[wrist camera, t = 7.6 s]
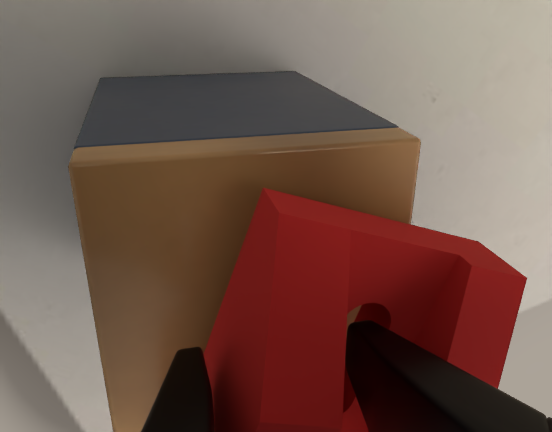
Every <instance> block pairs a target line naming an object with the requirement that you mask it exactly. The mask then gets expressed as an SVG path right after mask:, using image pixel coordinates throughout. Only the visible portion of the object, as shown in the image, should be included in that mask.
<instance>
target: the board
mask: <svg viewBox="0 0 552 432" xmlns="http://www.w3.org/2000/svg"><path fill="white" fill-rule="evenodd" d="M420 145H421V142H420V139H419V138H417V137H415V136H413V135H412V134H410V133H408V132H406V131H404V130H402V129H400V128H383V129H367V130H351V131H335V132H319V133H303V134H287V135H271V136H255V137H239V138H223V139H207V140H191V141H175V142H160V143H144V144H128V145H112V146H96V147H80V148H76V149H74V152H73V154H72V157H71V160H70V162H69V166H68V168H69V174H70V180H71V186H72V192H73V198H74V204H75V209H76V215H77V221H78V227H79V233H80V239H81V245H82V251H83V256H84V262H85V268H86V274H87V280H88V286H89V292H90V297H91V303H92V309H93V315H94V321H95V327H96V333H97V339H98V344H99V350H100V356H101V362H102V368H103V374H104V380H105V385H106V391H107V397H108V403H109V409H110V415H111V421H112V427H113V432H141V430H142V428H143V426H144V424H145V421H146V419H147V417H148V415H149V412H150V410H151V408H152V406H153V403H154V401H155V399H156V397H157V394H158V392H159V390H160V388H161V385H162V383H163V381H164V379H165V376H166V374H167V372H168V370H169V367H170V365H171V363H172V361H173V358H174V356H175V354H176V352H177V351H178V350H180V349H185V348H192V347H201V349H202V351H203V354H204V351H205V349H206V346H207V343H208V340H209V337H210V335H211V332H212V329H213V326H214V323H215V320H216V318H217V315H218V312H219V309H220V306H221V304H222V301H223V298H224V295H225V292H226V290H227V287H228V284H229V281H230V278H231V276H232V273H233V270H234V267H235V264H236V262H237V259H238V256H239V253H240V250H241V248H242V245H243V242H244V239H245V236H246V234H247V231H248V228H249V225H250V222H251V220H252V217H253V214H254V211H255V208H256V206H257V203H258V200H259V197H260V194H261V192H262V189H263V188H267V189H271V190H275V191H279V192H283V193H287V194H291V195H295V196H299V197H303V198H307V199H311V200H315V201H319V202H323V203H327V204H330V205H334V206H338V207H342V208H346V209H350V210H354V211H358V212H362V213H366V214H370V215H374V216H378V217H382V218H386V219H390V220H394V221H398V222H402V223H406V224H410V225H411V218H412V210H413V202H414V194H415V186H416V177H417V169H418V161H419V153H420ZM361 306H362V305H360V306H358V307H356V308H354V309H353V310H352V311H350V312H349V313H348V314H347V329H348V326H349V325H350V324H351V323H352V322H354V321H355V319H356V316H357V314H358V312H359V310H360V308H361ZM346 338H347V330H346Z"/></svg>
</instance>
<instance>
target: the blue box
mask: <svg viewBox="0 0 552 432" xmlns="http://www.w3.org/2000/svg"><path fill="white" fill-rule="evenodd" d="M383 128H399V127H398V126H397V125H395V124H393V123H391V122H389V121H387V120H385V119H384V118H382V117H380V116H378V115H376V114H374V113H372V112H370V111H369V110H367V109H365V108H363V107H361V106H359V105H357V104H356V103H354V102H352V101H350V100H348V99H346V98H344V97H342V96H341V95H339V94H337V93H335V92H333V91H331V90H329V89H328V88H326V87H324V86H322V85H320V84H318V83H316V82H314V81H313V80H311V79H309V78H307V77H305V76H303V75H301V74H300V73H298V72H296V71H286V72H257V73H228V74H199V75H170V76H140V77H111V78H100V80H99V83H98V85H97V88H96V91H95V93H94V96H93V99H92V101H91V104H90V107H89V109H88V112H87V114H86V117H85V120H84V122H83V125H82V128H81V130H80V133H79V136H78V138H77V141H76V144H75V146H74V149H76V148H80V147H96V146H112V145H128V144H144V143H160V142H175V141H191V140H207V139H223V138H239V137H255V136H271V135H287V134H303V133H319V132H335V131H351V130H367V129H383Z"/></svg>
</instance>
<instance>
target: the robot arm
mask: <svg viewBox="0 0 552 432" xmlns="http://www.w3.org/2000/svg"><path fill="white" fill-rule="evenodd" d="M345 365H346V370H347V373H348V376H349V379H350V381H351V384H352V387H353V389H354V392H355V395H356V398H357V400H358V403H359V406H360V409H361V411H362V414H363V417H364V419H365V422H366V425H367V428H368V430H369V432H552V418H550V417H548V418H547V419H546V416H545V415H544V414H543V413H541V412H539V411H537V410H536V409H534V408H532V407H530V406H528V405H526V404H525V403H522V402H521V401H519V400H517V399H515V398H513V397H511V396H510V395H508V394H506V393H504V392H502V391H500V390H499V389H497V388H495V387H493V386H491V385H490V384H488V383H486V382H484V381H482V380H480V379H479V378H477V377H475V376H473V375H471V374H469V373H468V372H466V371H464V370H462V369H460V368H458V367H457V366H455V365H453V364H451V363H449V362H447V361H446V360H444V359H442V358H440V357H438V356H436V355H435V354H433V353H431V352H429V351H427V350H425V349H424V348H422V347H420V346H418V345H416V344H414V343H413V342H411V341H409V340H407V339H405V338H403V337H401V336H400V335H398V334H396V333H394V332H392V331H390V330H389V329H387V328H385V327H383V326H381V325H379V324H378V323H376V322H374V321H372V320H364V321H358V322H352V323H351V324H350V325H349V326H348V329H347V340H346V353H345ZM141 432H215V430H214V413H213V397H212V390H211V385H210V381H209V376H208V372H207V368H206V364H205V359H204V355H203V351H202V349H201V347H192V348H185V349H180V350H178V351H177V352H176V354H175V356H174V358H173V361H172V363H171V365H170V367H169V370H168V372H167V374H166V376H165V379H164V381H163V383H162V385H161V388H160V390H159V392H158V394H157V397H156V399H155V401H154V403H153V406H152V408H151V410H150V412H149V415H148V417H147V419H146V421H145V424H144V426H143V428H142V430H141Z"/></svg>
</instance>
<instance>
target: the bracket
mask: <svg viewBox="0 0 552 432" xmlns="http://www.w3.org/2000/svg"><path fill="white" fill-rule="evenodd" d="M526 280H527V278H526V277H525V276H523V275H522V274H521V273H520V272H518V271H517V270H516V269H514V268H513V267H512V266H510V265H509V264H508V263H506V262H505V261H504V260H502V259H501V258H500V257H498V256H497V255H496V254H494V253H493V252H492V251H490V250H489V249H488V248H486V247H485V246H484V245H482V244H481V243H480V242H478V241H474V240H470V239H466V238H462V237H458V236H454V235H450V234H446V233H442V232H438V231H434V230H430V229H426V228H422V227H418V226H414V225H410V224H406V223H402V222H398V221H394V220H390V219H386V218H382V217H378V216H374V215H370V214H366V213H362V212H358V211H354V210H350V209H346V208H342V207H338V206H334V205H330V204H327V203H323V202H319V201H315V200H311V199H307V198H303V197H299V196H295V195H291V194H287V193H283V192H279V191H275V190H271V189H267V188H263V189H262V192H261V194H260V197H259V200H258V203H257V206H256V208H255V211H254V214H253V217H252V220H251V222H250V225H249V228H248V231H247V234H246V236H245V239H244V242H243V245H242V248H241V250H240V253H239V256H238V259H237V262H236V264H235V267H234V270H233V273H232V276H231V278H230V281H229V284H228V287H227V290H226V292H225V295H224V298H223V301H222V304H221V306H220V309H219V312H218V315H217V318H216V320H215V323H214V326H213V329H212V332H211V335H210V337H209V340H208V343H207V346H206V349H205V351H204V354H203V355H204V359H205V364H206V368H207V372H208V376H209V381H210V385H211V390H212V397H213V413H214V430H215V432H369V430H368V428H367V425H366V422H365V419H364V417H363V414H362V411H361V409H360V406H359V403H358V400H357V398H356V395H355V392H354V389H353V387H352V384H351V381H350V379H349V376H348V373H347V370H346V365H345V353H346V340H347V338H346V330H347V314H348V313H349V312H350V311H352V310H353V309H354V308H356V307H358V306H360V305H362V306H361V308H360V310H359V312H358V314H357V316H356V319H355V321H354V322H358V321H364V320H372V321H374V322H376V323H378V324H379V325H381V326H383V327H385V328H387V329H389V330H390V331H392V332H394V333H396V334H398V335H400V336H401V337H403V338H405V339H407V340H409V341H411V342H413V343H414V344H416V345H418V346H420V347H422V348H424V349H425V350H427V351H429V352H431V353H433V354H435V355H436V356H438V357H440V358H442V359H444V360H446V361H447V362H449V363H451V364H453V365H455V366H457V367H458V368H460V369H462V370H464V371H466V372H468V373H469V374H471V375H473V376H475V377H477V378H479V379H480V380H482V381H484V382H486V383H488V384H490V385H491V386H493V387H495V388H497V389H498V386H499V382H500V379H501V375H502V371H503V367H504V364H505V360H506V356H507V352H508V348H509V345H510V341H511V337H512V333H513V329H514V326H515V322H516V318H517V314H518V310H519V307H520V303H521V299H522V295H523V291H524V288H525V284H526Z"/></svg>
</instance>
